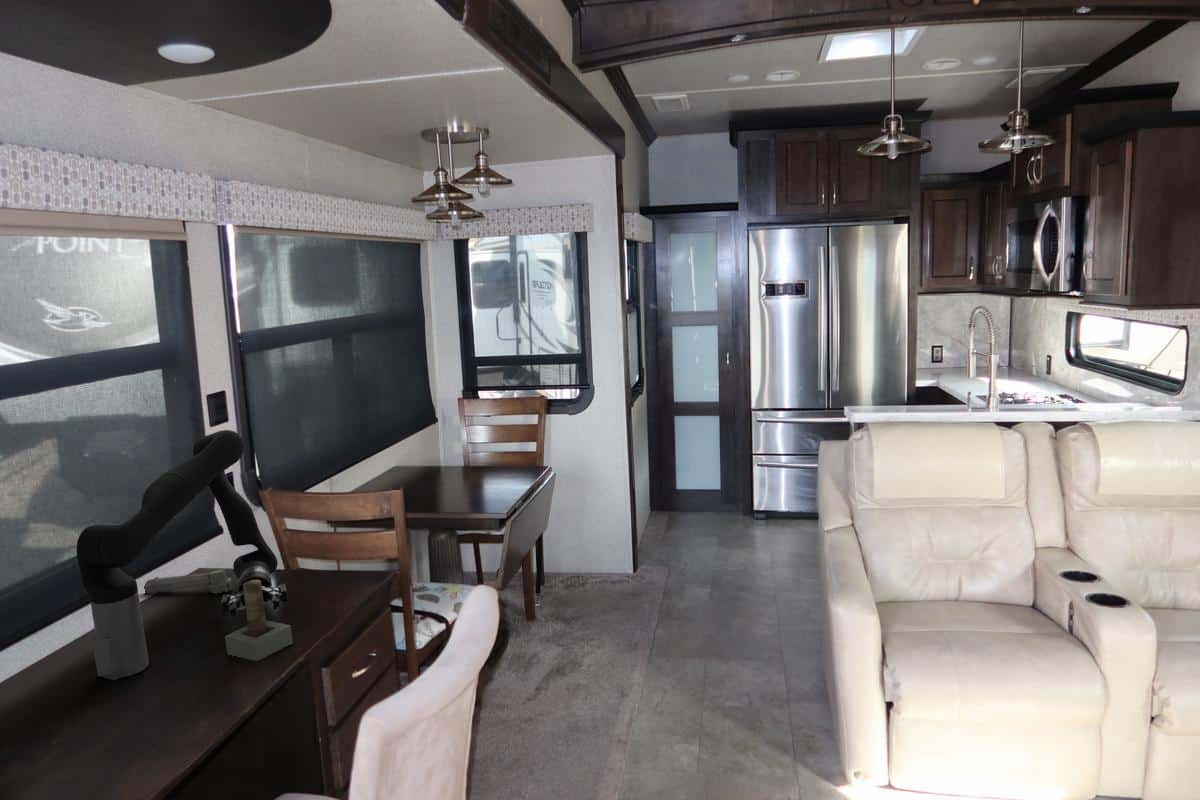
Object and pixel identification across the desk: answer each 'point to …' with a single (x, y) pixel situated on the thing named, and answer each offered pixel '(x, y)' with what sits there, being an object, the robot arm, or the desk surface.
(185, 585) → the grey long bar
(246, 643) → the socket
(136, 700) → the desk surface
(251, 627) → the peg
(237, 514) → the robot arm
